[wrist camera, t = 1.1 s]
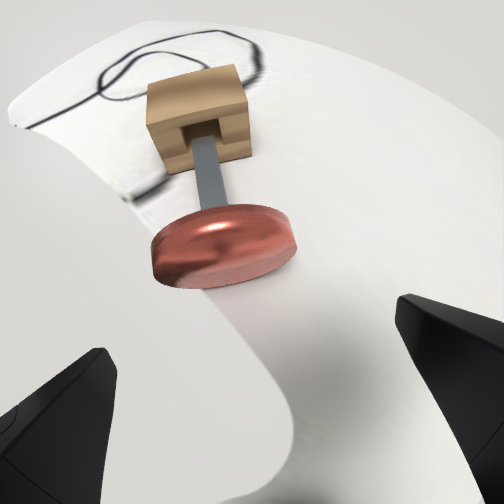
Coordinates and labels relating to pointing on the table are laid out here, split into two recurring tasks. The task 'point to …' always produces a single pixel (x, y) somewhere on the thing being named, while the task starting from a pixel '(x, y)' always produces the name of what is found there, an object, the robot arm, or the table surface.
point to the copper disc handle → (220, 235)
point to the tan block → (198, 116)
